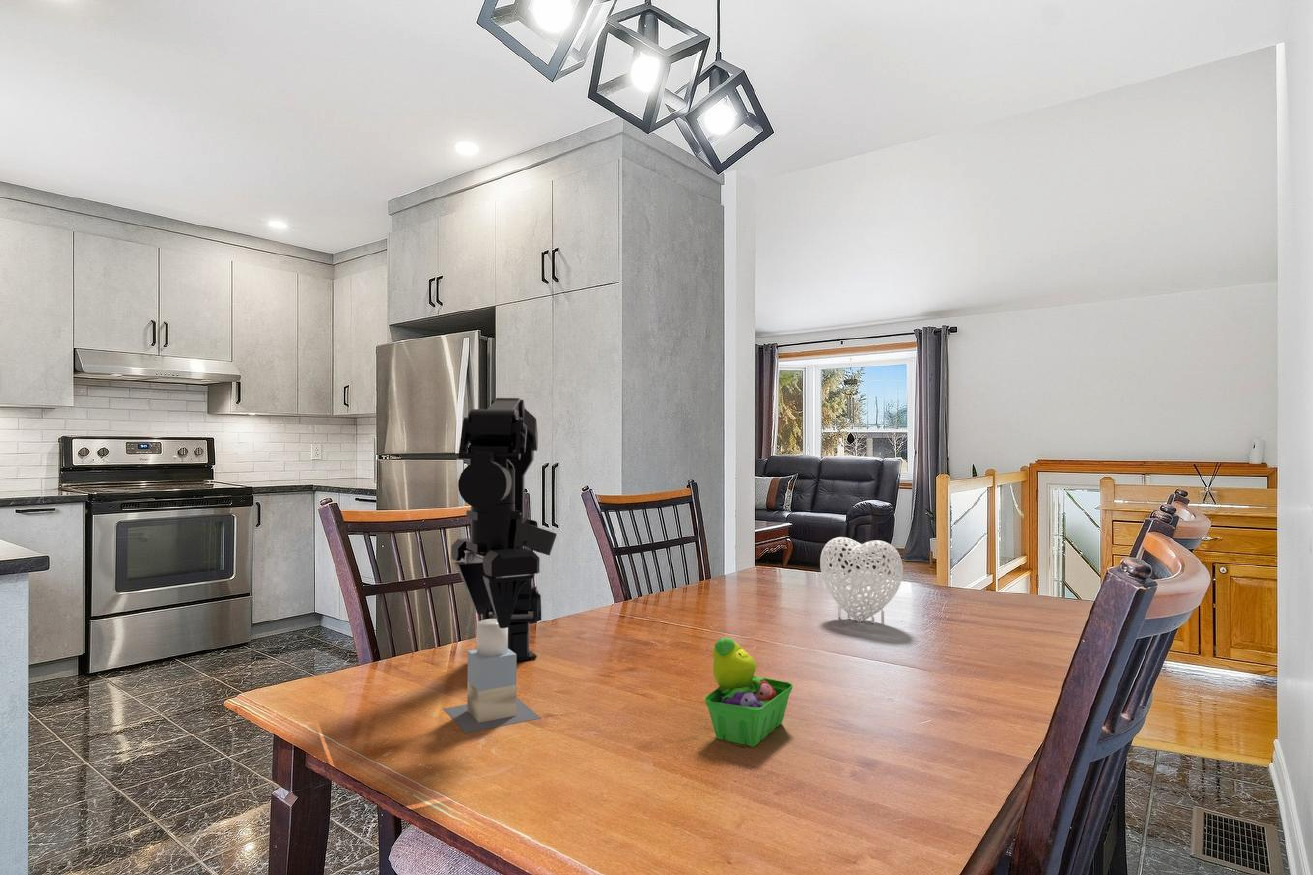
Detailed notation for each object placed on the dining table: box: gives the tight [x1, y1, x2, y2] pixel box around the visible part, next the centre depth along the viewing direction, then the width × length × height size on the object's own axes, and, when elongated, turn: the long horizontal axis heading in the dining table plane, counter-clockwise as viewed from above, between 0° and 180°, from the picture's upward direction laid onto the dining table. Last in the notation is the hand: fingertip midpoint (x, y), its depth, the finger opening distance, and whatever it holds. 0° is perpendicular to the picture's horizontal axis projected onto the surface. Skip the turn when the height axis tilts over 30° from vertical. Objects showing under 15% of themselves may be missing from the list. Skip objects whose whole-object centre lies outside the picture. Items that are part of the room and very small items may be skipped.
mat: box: [443, 696, 542, 735], centre depth 96 cm, size 10×10×1 cm
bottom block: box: [466, 681, 517, 723], centre depth 96 cm, size 5×5×4 cm
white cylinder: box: [476, 618, 508, 657], centre depth 96 cm, size 4×4×4 cm
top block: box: [467, 648, 518, 691], centre depth 96 cm, size 5×5×4 cm
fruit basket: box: [703, 637, 794, 747], centre depth 92 cm, size 11×9×11 cm
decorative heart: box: [819, 536, 904, 625], centre depth 150 cm, size 18×11×17 cm, turn 44°
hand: (492, 620), depth 96 cm, fingers open, 9 cm apart
